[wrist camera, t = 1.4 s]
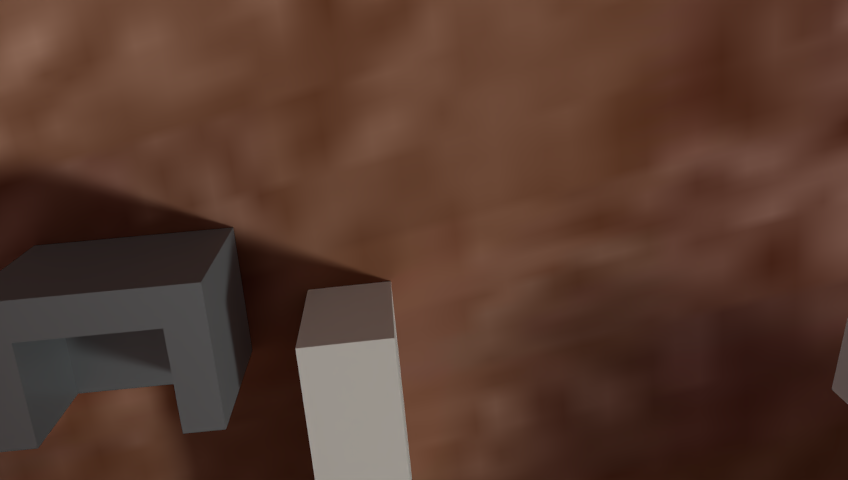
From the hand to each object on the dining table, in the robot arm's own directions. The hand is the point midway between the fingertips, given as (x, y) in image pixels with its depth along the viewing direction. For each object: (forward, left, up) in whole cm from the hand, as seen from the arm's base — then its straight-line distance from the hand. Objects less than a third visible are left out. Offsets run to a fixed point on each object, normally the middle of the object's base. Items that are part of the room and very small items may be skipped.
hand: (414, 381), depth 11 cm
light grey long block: (-11, +10, -22) cm, 27 cm away
